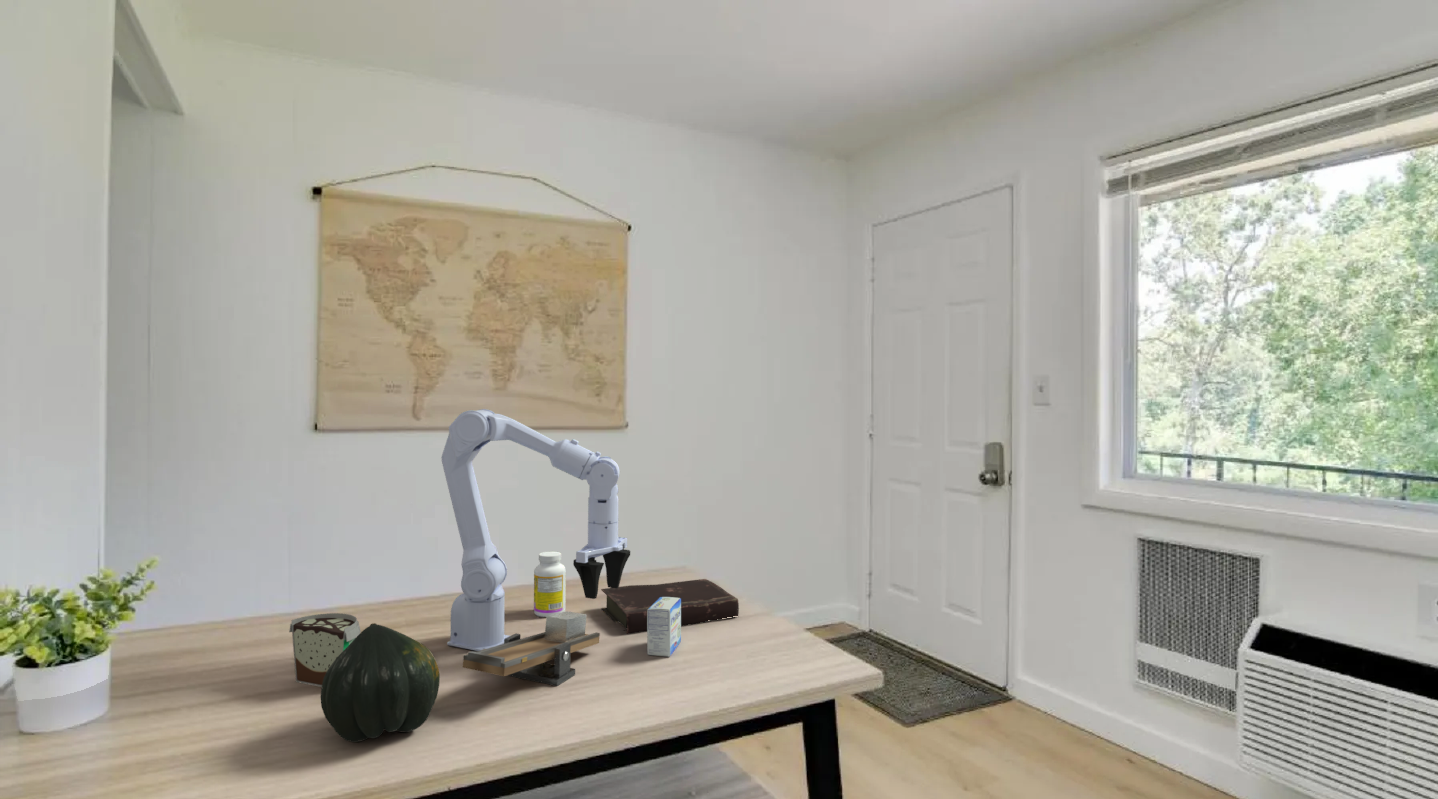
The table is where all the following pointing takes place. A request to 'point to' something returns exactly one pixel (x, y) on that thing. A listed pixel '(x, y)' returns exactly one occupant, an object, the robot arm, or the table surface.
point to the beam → (521, 654)
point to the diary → (696, 596)
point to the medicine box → (664, 626)
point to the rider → (565, 626)
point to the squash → (379, 685)
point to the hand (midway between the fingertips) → (602, 592)
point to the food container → (320, 643)
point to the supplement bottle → (549, 585)
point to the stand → (547, 666)
